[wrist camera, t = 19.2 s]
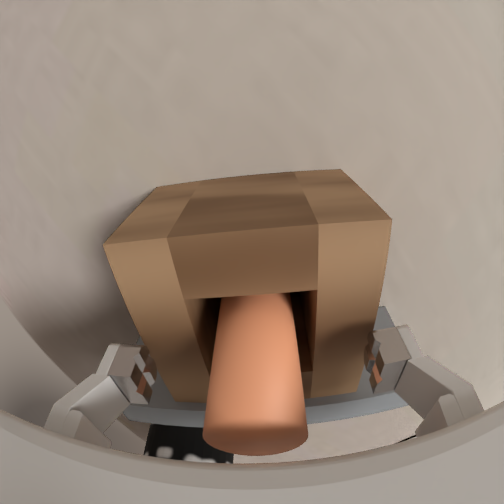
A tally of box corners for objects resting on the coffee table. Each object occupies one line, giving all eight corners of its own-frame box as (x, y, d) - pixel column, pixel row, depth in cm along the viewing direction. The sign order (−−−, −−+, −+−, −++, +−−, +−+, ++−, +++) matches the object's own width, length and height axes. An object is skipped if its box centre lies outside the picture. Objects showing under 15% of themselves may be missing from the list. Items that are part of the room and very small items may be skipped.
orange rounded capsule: (282, 230, 15) (311, 413, 6) (285, 279, 16) (305, 452, 8) (224, 236, 15) (190, 417, 6) (232, 283, 16) (214, 455, 8)
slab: (379, 328, 18) (409, 404, 13) (153, 343, 19) (129, 420, 14) (385, 306, 17) (420, 385, 12) (144, 323, 18) (114, 402, 13)
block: (334, 313, 18) (356, 391, 12) (193, 323, 18) (175, 401, 13) (340, 169, 13) (391, 219, 8) (157, 187, 14) (102, 244, 8)
